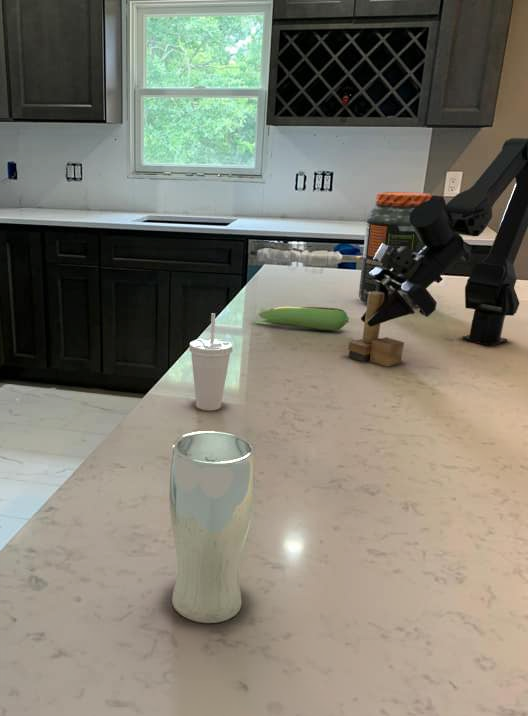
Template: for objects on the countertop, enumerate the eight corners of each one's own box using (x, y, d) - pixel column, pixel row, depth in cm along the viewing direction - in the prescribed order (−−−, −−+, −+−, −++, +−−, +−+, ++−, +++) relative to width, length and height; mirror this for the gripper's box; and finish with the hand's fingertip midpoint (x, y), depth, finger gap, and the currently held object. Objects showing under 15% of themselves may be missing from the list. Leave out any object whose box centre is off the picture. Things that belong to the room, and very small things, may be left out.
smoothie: (234, 402, 112) (239, 312, 107) (223, 416, 107) (228, 321, 101) (194, 396, 114) (197, 308, 109) (181, 410, 109) (184, 317, 103)
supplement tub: (430, 301, 184) (447, 193, 173) (412, 313, 172) (430, 197, 161) (368, 294, 191) (381, 189, 181) (348, 304, 179) (361, 193, 169)
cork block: (383, 358, 136) (386, 337, 135) (400, 363, 133) (404, 342, 132) (369, 361, 134) (372, 340, 133) (386, 366, 131) (389, 345, 130)
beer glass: (164, 581, 67) (166, 430, 61) (238, 579, 68) (248, 429, 62) (170, 628, 61) (174, 465, 55) (253, 625, 61) (265, 463, 55)
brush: (371, 351, 140) (380, 289, 135) (388, 356, 137) (397, 292, 132) (347, 357, 136) (355, 292, 131) (363, 362, 133) (372, 297, 129)
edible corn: (346, 334, 152) (348, 313, 150) (251, 326, 157) (252, 305, 155) (347, 329, 156) (350, 307, 155) (255, 321, 161) (256, 300, 160)
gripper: (386, 222, 136) (322, 281, 140) (430, 235, 119) (356, 302, 123) (419, 265, 140) (357, 322, 144) (467, 283, 123) (395, 347, 127)
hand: (365, 322), depth 134 cm, fingers closed on brush, 3 cm apart
